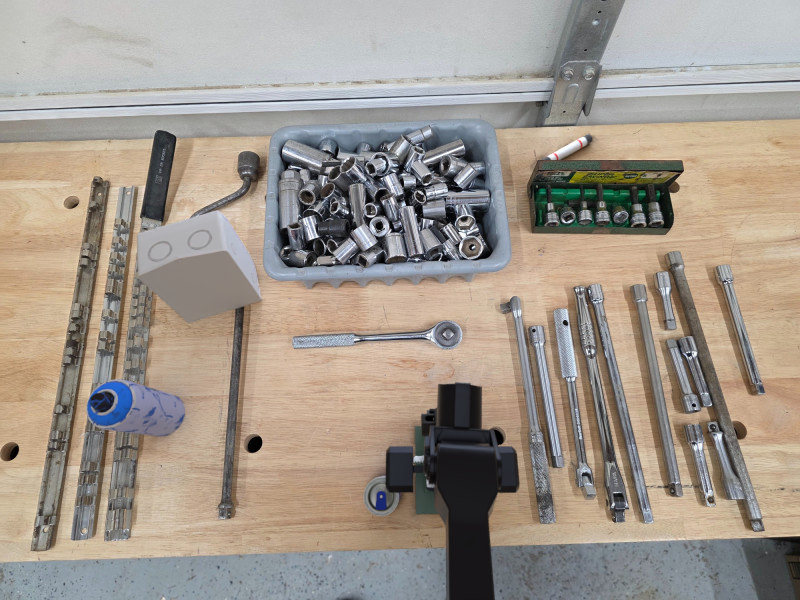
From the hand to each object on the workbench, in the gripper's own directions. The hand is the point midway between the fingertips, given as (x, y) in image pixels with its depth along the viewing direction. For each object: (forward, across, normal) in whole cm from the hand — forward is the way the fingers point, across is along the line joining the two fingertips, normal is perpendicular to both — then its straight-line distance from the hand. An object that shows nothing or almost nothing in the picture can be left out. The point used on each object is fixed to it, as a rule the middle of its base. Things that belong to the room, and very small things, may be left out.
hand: (446, 469), depth 73 cm
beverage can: (+6, +10, +4) cm, 12 cm away
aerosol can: (+6, +50, -9) cm, 51 cm away
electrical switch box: (+6, +44, -36) cm, 57 cm away
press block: (+6, 0, 0) cm, 6 cm away
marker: (+6, -28, -65) cm, 71 cm away
